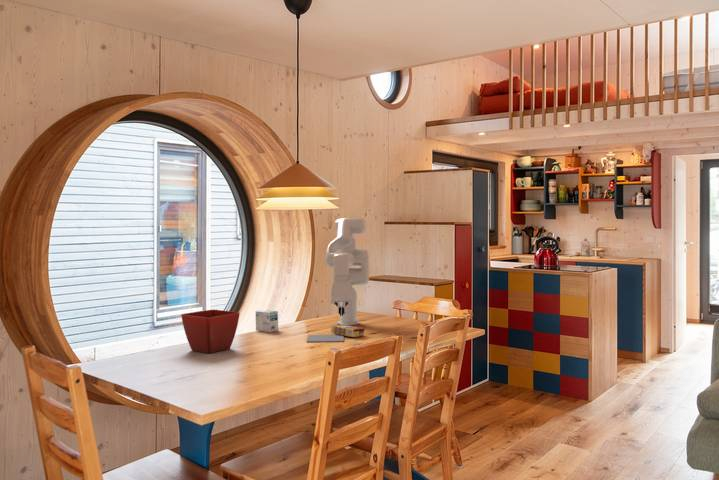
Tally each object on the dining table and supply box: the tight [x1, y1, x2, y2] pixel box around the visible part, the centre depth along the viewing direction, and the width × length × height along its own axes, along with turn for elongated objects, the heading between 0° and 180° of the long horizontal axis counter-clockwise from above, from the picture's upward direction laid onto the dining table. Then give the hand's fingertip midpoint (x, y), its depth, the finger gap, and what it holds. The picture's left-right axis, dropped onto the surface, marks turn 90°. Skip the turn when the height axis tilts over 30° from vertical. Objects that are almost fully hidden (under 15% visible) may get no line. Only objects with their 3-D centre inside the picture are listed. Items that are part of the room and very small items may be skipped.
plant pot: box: [180, 309, 240, 354], centre depth 270 cm, size 19×19×17 cm
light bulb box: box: [255, 309, 279, 333], centre depth 316 cm, size 11×7×11 cm, turn 58°
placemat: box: [306, 334, 345, 343], centre depth 293 cm, size 16×18×1 cm
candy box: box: [330, 324, 366, 338], centre depth 302 cm, size 9×4×15 cm
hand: (341, 315), depth 293 cm, fingers closed
